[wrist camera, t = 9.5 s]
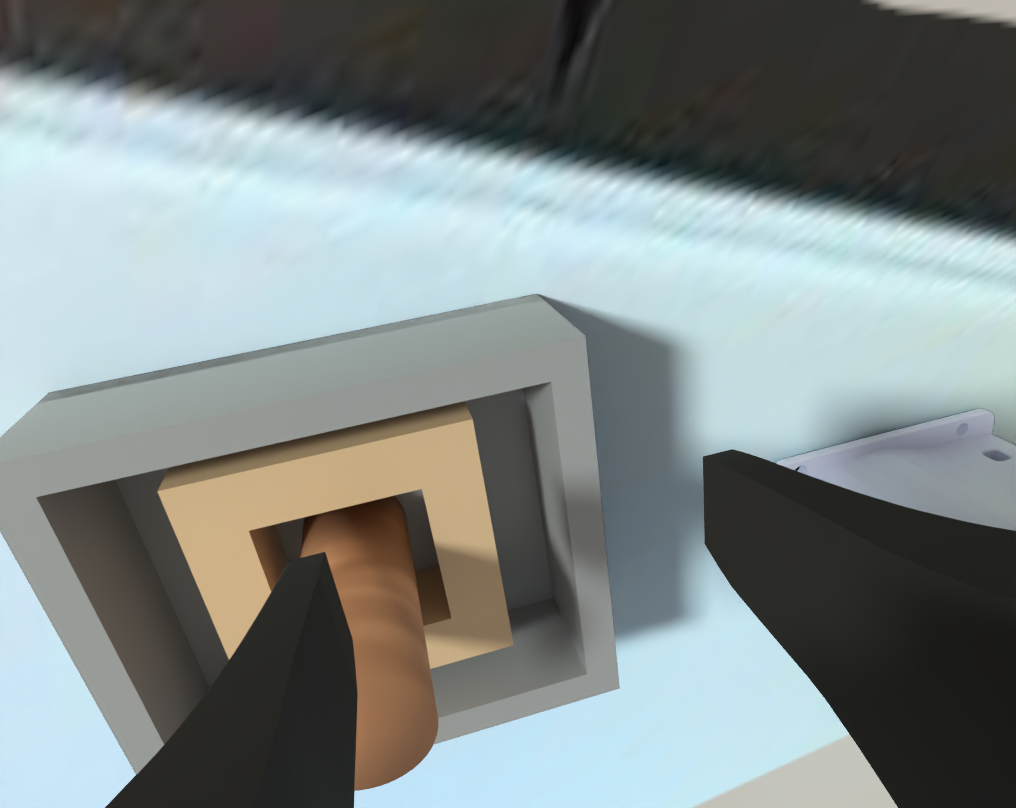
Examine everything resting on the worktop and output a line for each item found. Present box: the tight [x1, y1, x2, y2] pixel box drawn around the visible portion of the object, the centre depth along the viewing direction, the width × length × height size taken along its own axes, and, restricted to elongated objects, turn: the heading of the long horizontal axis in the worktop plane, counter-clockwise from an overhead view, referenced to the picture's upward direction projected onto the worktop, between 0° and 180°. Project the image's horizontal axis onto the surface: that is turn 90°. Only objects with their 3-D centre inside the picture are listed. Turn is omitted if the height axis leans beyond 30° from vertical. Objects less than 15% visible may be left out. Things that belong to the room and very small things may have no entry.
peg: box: [300, 496, 438, 791], centre depth 17 cm, size 3×3×8 cm
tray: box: [0, 294, 620, 775], centre depth 20 cm, size 14×12×4 cm
